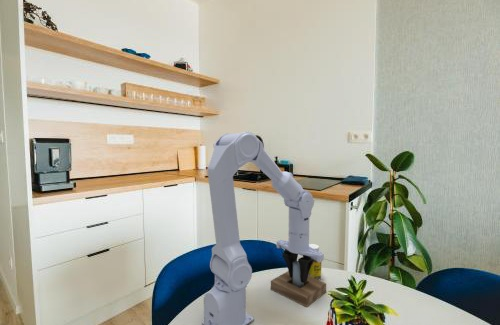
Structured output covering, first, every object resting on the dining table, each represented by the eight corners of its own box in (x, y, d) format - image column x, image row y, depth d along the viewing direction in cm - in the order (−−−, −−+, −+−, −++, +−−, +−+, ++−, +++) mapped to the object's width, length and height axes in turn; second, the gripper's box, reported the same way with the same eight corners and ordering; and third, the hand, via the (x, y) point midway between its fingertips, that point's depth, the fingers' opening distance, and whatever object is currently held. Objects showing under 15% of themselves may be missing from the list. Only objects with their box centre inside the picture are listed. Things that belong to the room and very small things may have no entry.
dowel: (300, 291, 71) (300, 266, 70) (290, 287, 73) (290, 263, 73) (306, 287, 73) (306, 263, 73) (296, 283, 75) (296, 259, 75)
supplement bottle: (314, 284, 76) (315, 251, 76) (299, 277, 80) (299, 245, 80) (324, 278, 80) (325, 246, 79) (309, 272, 84) (309, 241, 83)
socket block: (306, 307, 65) (306, 297, 65) (270, 289, 74) (270, 280, 74) (326, 291, 72) (326, 283, 72) (291, 276, 81) (291, 269, 81)
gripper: (329, 234, 70) (328, 282, 71) (286, 223, 80) (286, 265, 81) (316, 241, 65) (315, 293, 66) (272, 228, 75) (271, 273, 76)
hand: (298, 278), depth 73 cm, fingers closed on dowel, 3 cm apart
